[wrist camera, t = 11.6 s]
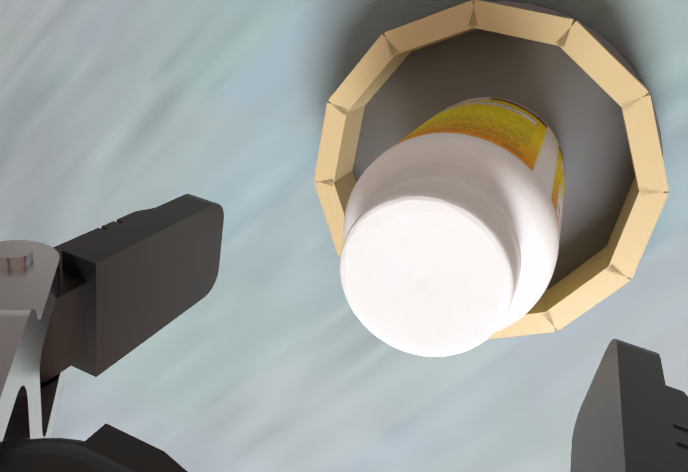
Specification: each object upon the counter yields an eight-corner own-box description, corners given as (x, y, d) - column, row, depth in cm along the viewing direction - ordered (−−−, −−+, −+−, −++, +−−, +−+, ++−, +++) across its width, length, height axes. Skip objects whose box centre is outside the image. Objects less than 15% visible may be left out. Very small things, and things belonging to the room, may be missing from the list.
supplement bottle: (388, 137, 23) (264, 216, 14) (525, 65, 20) (480, 106, 11) (453, 261, 24) (374, 413, 15) (592, 207, 21) (600, 351, 12)
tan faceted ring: (373, -28, 22) (344, -34, 20) (720, 41, 19) (741, 45, 16) (321, 255, 27) (292, 280, 24) (590, 348, 24) (590, 389, 21)
